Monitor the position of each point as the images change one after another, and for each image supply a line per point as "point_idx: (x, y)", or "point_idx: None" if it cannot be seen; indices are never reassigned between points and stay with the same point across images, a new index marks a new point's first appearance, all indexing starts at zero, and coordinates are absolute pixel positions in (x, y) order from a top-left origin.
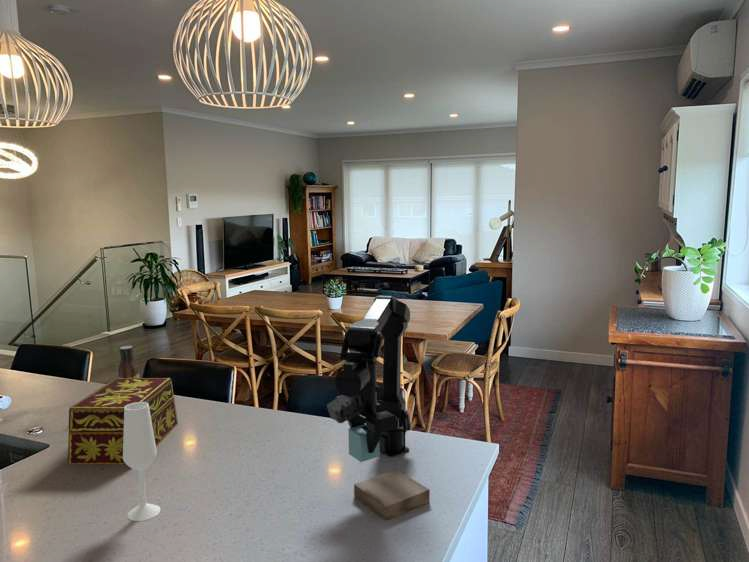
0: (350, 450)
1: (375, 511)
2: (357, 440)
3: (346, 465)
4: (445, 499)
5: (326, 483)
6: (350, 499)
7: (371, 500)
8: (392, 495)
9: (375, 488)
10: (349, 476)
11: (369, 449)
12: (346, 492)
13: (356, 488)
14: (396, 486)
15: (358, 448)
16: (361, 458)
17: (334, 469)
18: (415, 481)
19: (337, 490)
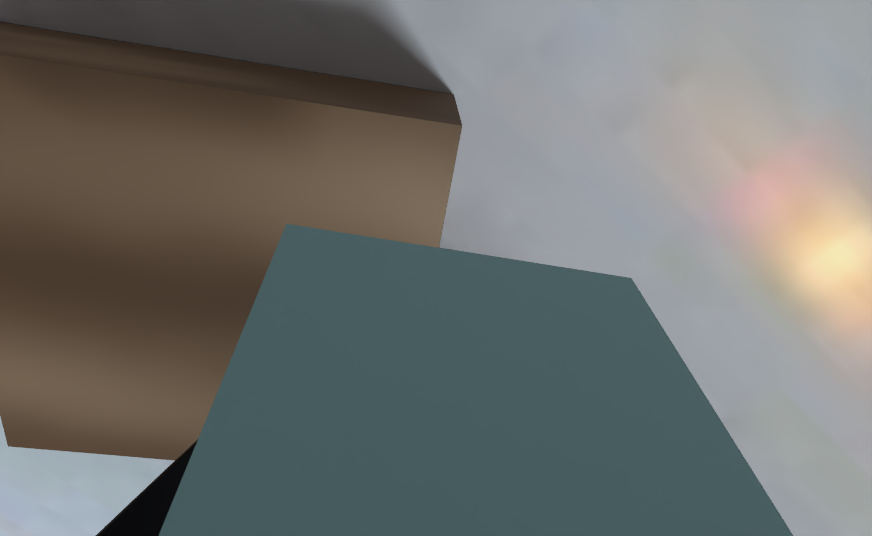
0: (605, 312)
1: (148, 48)
2: (351, 520)
3: (798, 349)
4: (37, 452)
5: (782, 80)
6: (447, 43)
7: (182, 72)
8: (75, 223)
9: (265, 205)
10: (687, 270)
11: (168, 469)
12: (551, 97)
13: (421, 112)
14: (184, 334)
15: (325, 363)
16: (275, 264)
17: (847, 264)
18: (163, 456)
19: (632, 67)
